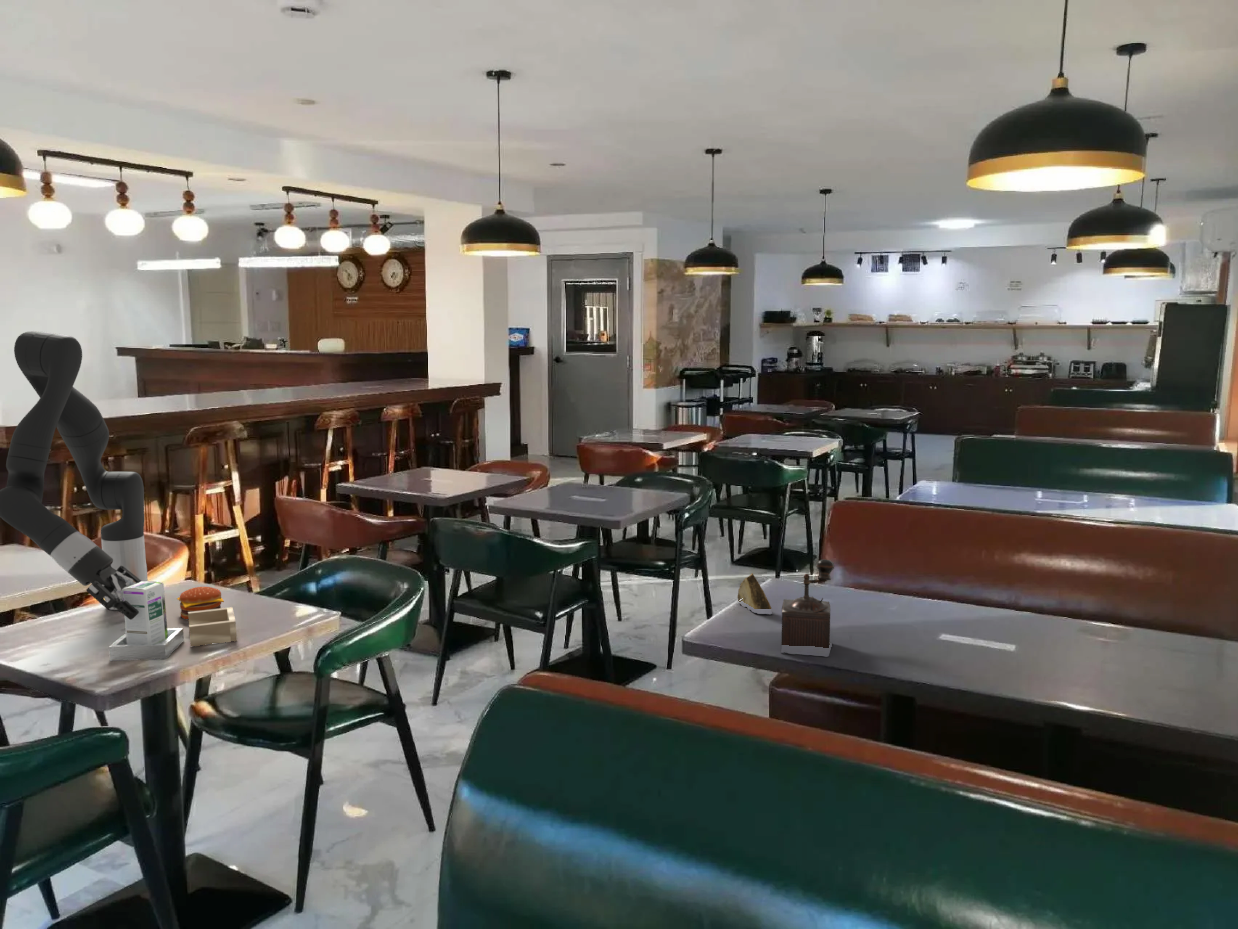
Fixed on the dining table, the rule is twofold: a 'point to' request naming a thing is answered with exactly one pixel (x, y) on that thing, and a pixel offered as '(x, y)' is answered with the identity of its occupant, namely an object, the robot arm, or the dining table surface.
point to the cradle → (212, 626)
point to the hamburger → (199, 600)
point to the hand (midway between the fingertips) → (143, 610)
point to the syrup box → (146, 613)
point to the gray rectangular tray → (146, 647)
